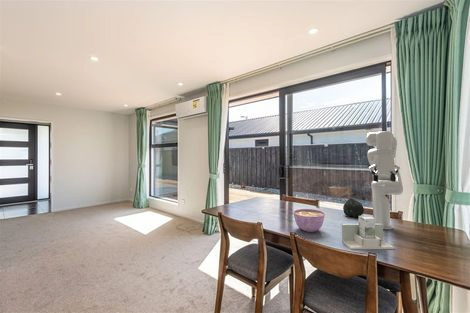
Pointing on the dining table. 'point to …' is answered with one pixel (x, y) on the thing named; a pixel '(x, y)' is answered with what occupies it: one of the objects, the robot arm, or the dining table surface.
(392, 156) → the robot arm
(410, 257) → the dining table surface
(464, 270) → the dining table surface
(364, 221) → the syrup box
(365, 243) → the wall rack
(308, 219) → the bowl of food
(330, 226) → the dining table surface
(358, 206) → the squash
